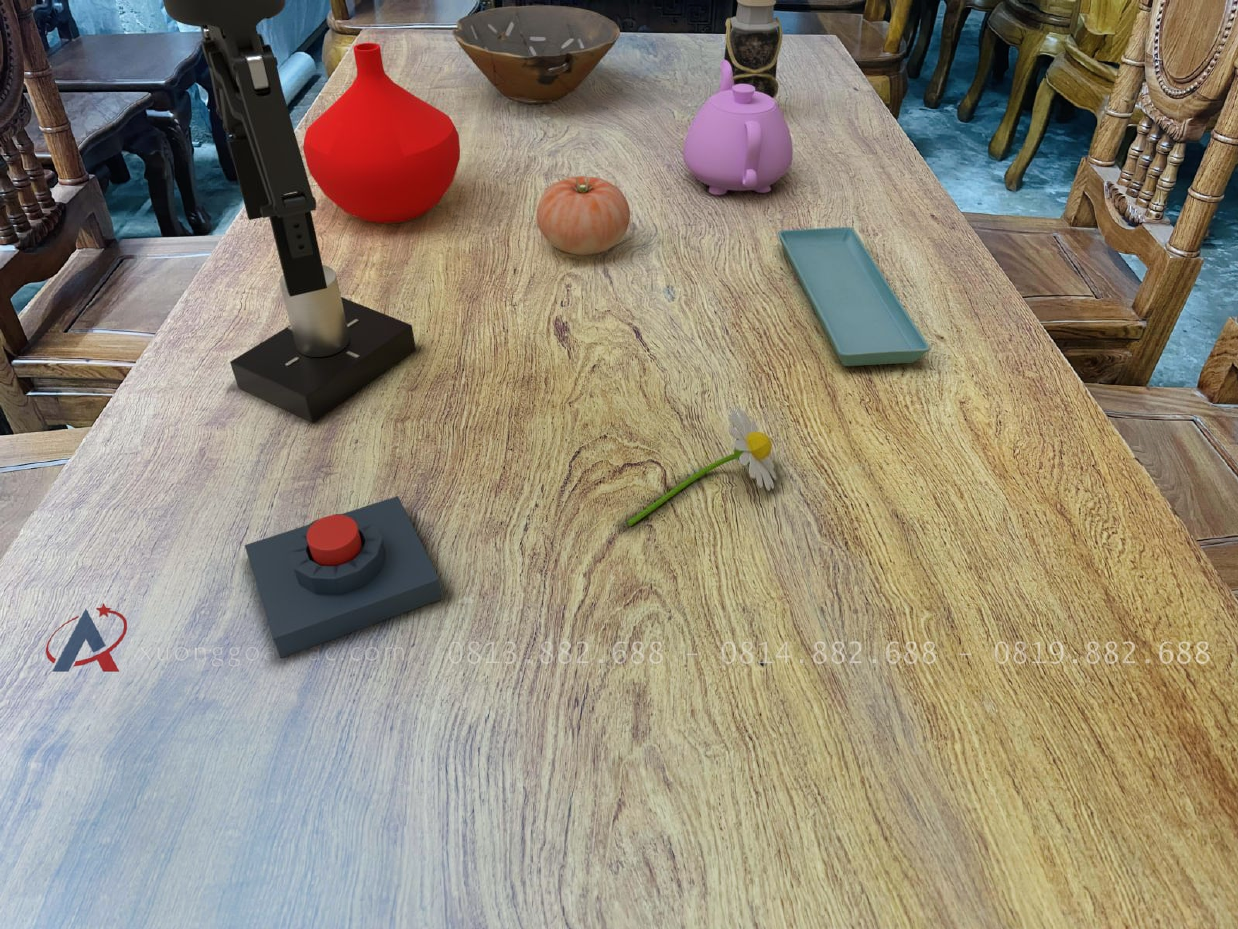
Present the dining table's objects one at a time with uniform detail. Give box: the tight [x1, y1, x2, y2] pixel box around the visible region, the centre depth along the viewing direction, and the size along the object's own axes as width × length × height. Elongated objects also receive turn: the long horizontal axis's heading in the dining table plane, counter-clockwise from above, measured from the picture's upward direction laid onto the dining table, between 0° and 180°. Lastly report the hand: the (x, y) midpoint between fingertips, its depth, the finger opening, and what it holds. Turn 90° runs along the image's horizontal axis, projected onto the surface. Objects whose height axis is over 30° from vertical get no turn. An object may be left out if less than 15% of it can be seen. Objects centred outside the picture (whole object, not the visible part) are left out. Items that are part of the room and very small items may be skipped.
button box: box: [244, 495, 444, 659], centre depth 70 cm, size 12×10×4 cm
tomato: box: [536, 175, 631, 256], centre depth 109 cm, size 11×11×8 cm
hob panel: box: [229, 296, 417, 424], centre depth 91 cm, size 14×10×3 cm
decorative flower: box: [626, 405, 777, 527], centre depth 78 cm, size 8×6×15 cm
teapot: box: [682, 59, 794, 196], centre depth 122 cm, size 20×14×12 cm
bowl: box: [452, 4, 621, 105], centre depth 144 cm, size 25×25×10 cm
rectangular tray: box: [777, 226, 931, 367], centre depth 101 cm, size 26×9×2 cm, turn 6°
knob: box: [279, 264, 350, 357], centre depth 88 cm, size 5×5×7 cm
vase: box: [302, 42, 461, 224], centre depth 112 cm, size 18×18×19 cm
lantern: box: [723, 0, 783, 99], centre depth 133 cm, size 9×8×25 cm
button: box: [307, 514, 362, 566], centre depth 69 cm, size 4×4×2 cm
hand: (285, 250), depth 74 cm, fingers open, 13 cm apart
